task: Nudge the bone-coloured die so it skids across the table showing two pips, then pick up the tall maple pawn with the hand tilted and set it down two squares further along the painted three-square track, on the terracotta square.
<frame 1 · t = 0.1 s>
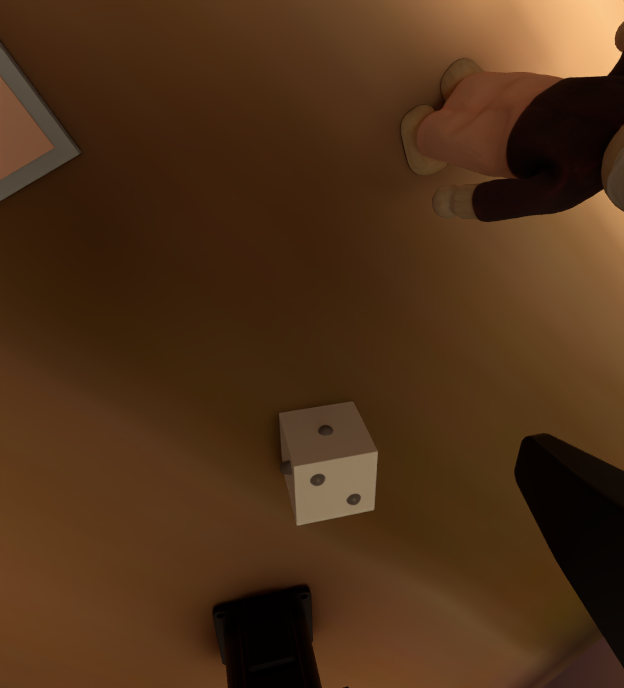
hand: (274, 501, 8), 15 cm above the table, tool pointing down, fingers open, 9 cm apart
grandmother figurine: (454, 107, 20), on the table
die: (316, 435, 27), on the table
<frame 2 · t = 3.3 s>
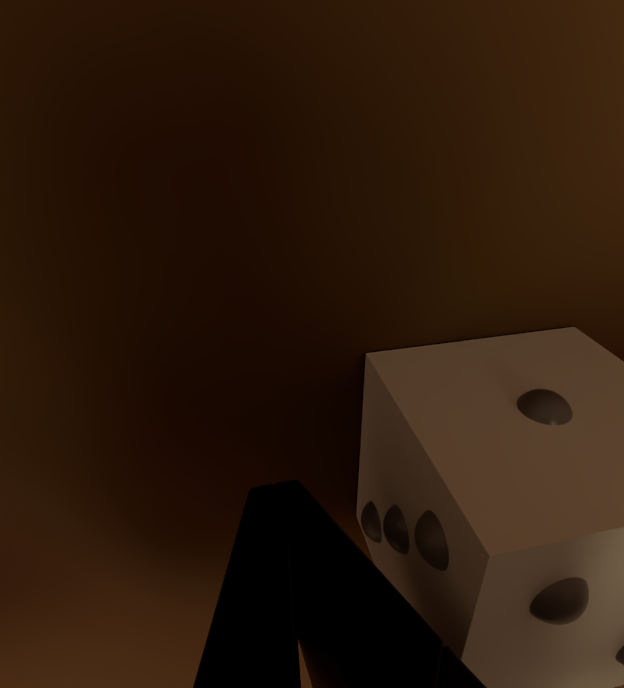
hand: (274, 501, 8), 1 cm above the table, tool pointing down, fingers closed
die: (458, 427, 10), on the table, touching gripper
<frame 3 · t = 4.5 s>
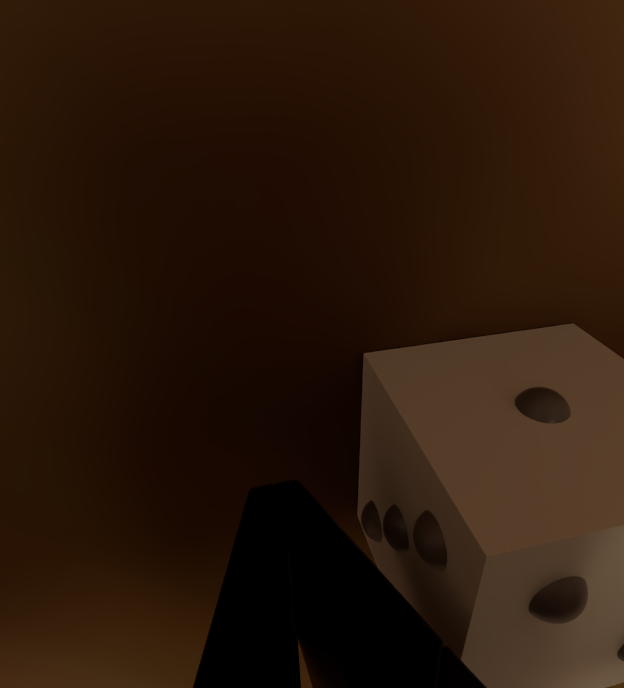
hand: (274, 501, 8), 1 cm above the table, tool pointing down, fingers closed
die: (457, 425, 10), on the table, touching gripper
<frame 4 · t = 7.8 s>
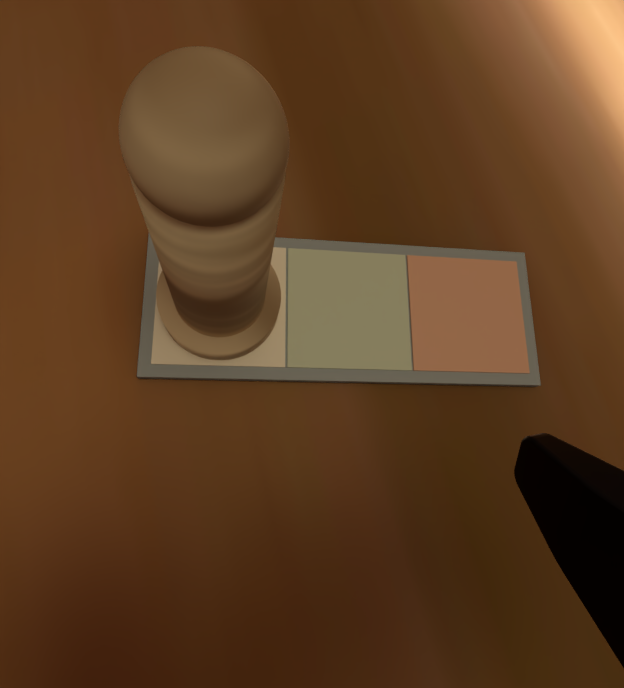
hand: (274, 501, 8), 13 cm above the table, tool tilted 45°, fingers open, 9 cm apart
pawn: (220, 303, 22), resting on board
board: (346, 311, 24), on the table
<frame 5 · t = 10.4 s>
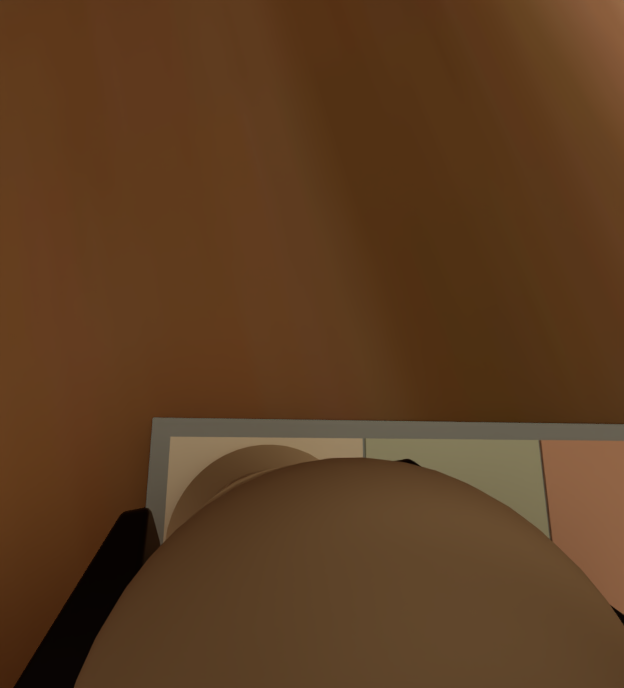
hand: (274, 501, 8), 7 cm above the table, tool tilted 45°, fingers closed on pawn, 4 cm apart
pawn: (264, 540, 14), resting on board, touching gripper
board: (454, 534, 16), on the table
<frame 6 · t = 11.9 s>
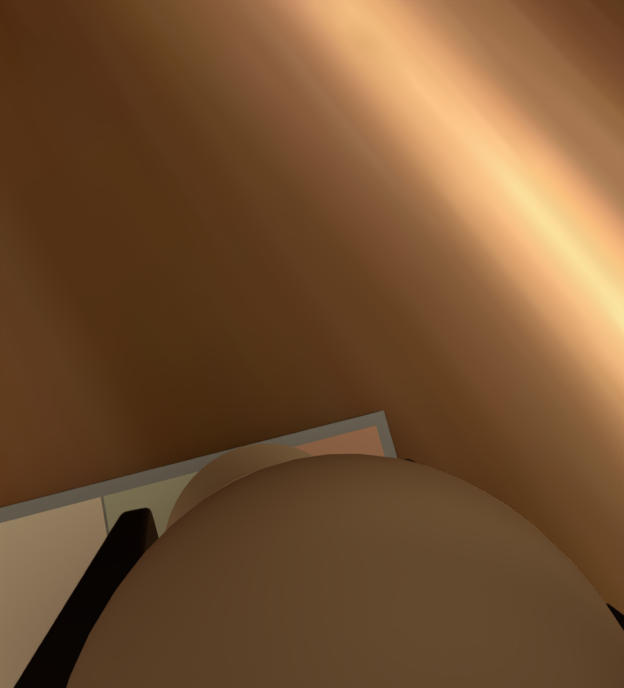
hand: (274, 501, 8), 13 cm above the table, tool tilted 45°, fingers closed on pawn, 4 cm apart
pawn: (263, 539, 14), point 7 cm above the table, touching gripper
board: (191, 548, 20), on the table
when the fingers open (8 cm above the table, at t = 13.5 s): pawn stays where it is, resting on board.
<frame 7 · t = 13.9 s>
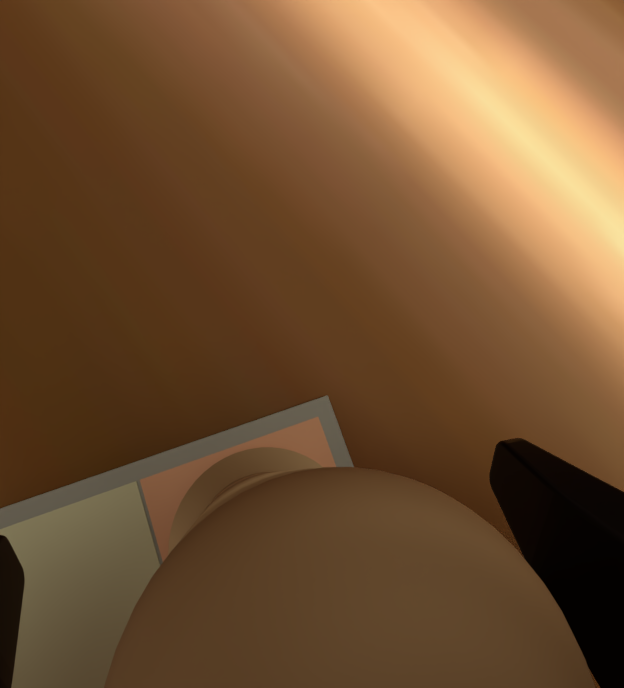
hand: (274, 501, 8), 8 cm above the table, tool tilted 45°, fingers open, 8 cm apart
pawn: (263, 538, 15), point 1 cm above the table, touching board
board: (65, 615, 14), on the table
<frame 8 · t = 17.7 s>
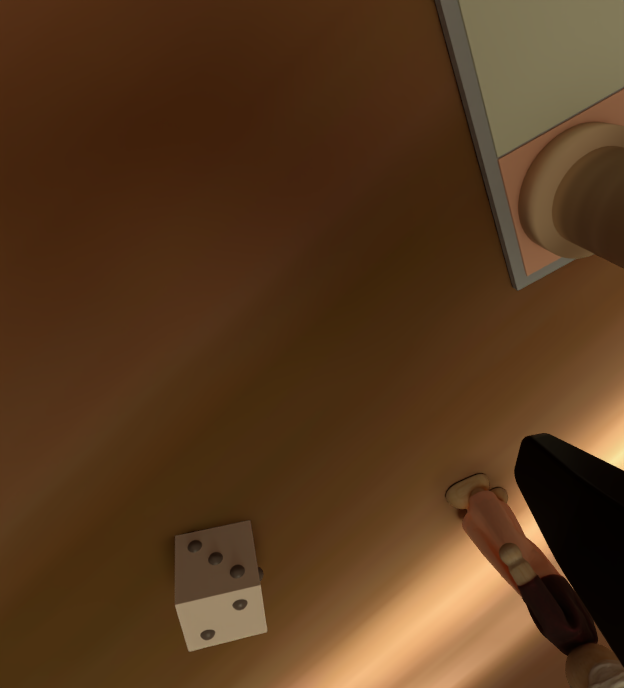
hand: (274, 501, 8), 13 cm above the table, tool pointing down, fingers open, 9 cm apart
pawn: (575, 189, 21), point 1 cm above the table, touching board
grandmother figurine: (479, 497, 31), on the table
board: (542, 42, 18), on the table
die: (218, 550, 28), on the table
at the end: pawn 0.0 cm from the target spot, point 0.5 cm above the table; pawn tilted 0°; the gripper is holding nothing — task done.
